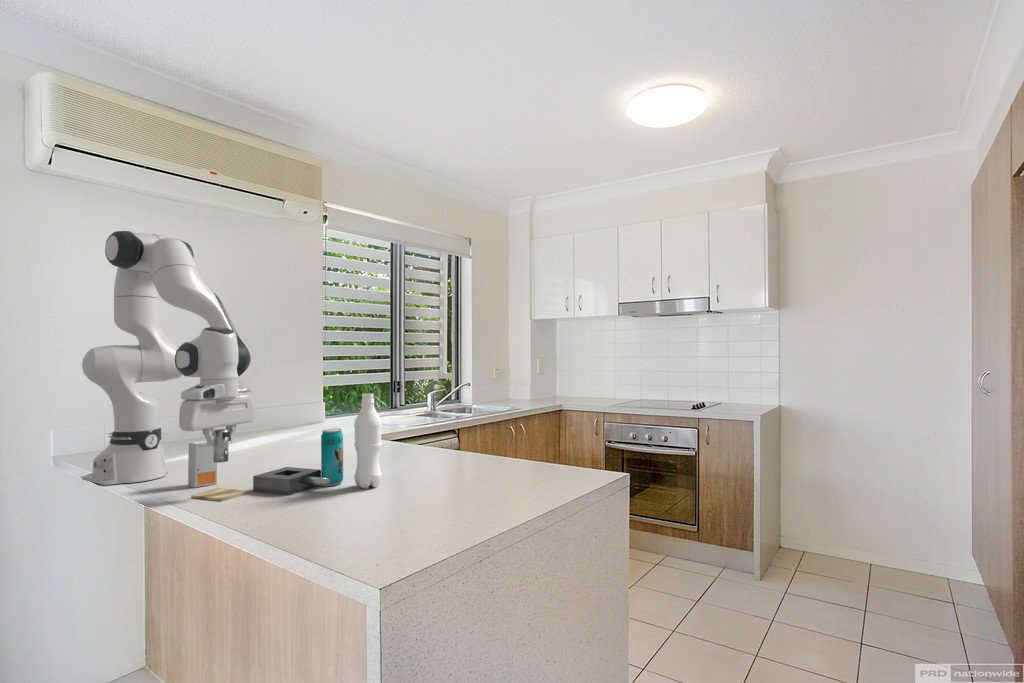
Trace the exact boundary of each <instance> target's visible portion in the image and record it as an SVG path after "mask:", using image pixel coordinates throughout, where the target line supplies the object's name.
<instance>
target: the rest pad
mask: <svg viewBox="0 0 1024 683" xmlns="http://www.w3.org/2000/svg"><path fill="white" fill-rule="evenodd" d="M246 494H248V490H243V489H241V490H240V489H230V488H222V487H217V488H214V489H210V490H205V491H202V492H199V493H195V494H192V495H191V497H190V498H191V499H199V500H207V501H208V500H209V501H214V502H215V501H216V502H222V501H226V500H230V499H232V498H235V497H239V496H242V495H246Z"/></svg>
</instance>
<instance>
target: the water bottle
mask: <svg viewBox="0 0 1024 683" xmlns="http://www.w3.org/2000/svg"><path fill="white" fill-rule="evenodd" d="M374 397H375V396H374V393H362V394H361V402H360V403H361V407H360V410H359V412H358V414H357V416H356V418H355V420H354V423H353V424H354V425H353V427H354V447H355V452H356V459H357V461H356V469H355V473H354V481H355V485H356V486H357V487H358V488H361V489H364V490H367V489H369V487H370V486H371V487H372V488H378V487H379V485H380V484H381V481H382V476H383V473H382V471H381V470H382V469H381V466H380V449H381V447H382V446H383V445H382V444H383V443H382V420H381V417H380V415H379V414H378V412H377V409H376V408H375V399H374Z"/></svg>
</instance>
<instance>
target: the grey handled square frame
mask: <svg viewBox="0 0 1024 683" xmlns="http://www.w3.org/2000/svg"><path fill="white" fill-rule="evenodd" d="M329 484H330V479H329V478H322V477H321V469H318V468H317V469H315V468H305V467H304V468H303V467H294V466H293V467H292V466H285V467H281V468H278V469H274V470H271V471H267V472H263V473H259V474H256V475H253V476H252V491H253V492H256V493H265V494H274V495H275V494H276V495H283V496H284V495H285V496H291V495H294V494H297V493H299V492H303V491H306V490H309V489H312V488H314V487H317V486H322V487H329V486H328V485H329Z"/></svg>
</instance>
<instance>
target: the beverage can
mask: <svg viewBox="0 0 1024 683" xmlns="http://www.w3.org/2000/svg"><path fill="white" fill-rule="evenodd" d="M342 430H343V429H342V428H336V427H335V428H326V429H322V430H321V431H322V433H321V435H320V442H321V443H320V445H321V446H320V449H321V452H320V455H321V458H320V459H321V460H320V463H321V464H320V465H321V468H320V470H321V477H322V478H329V479H330V484H329V485H328V486H327V487H336V486H340V485H341V484H342V482H343V479H344V434H343V432H342Z"/></svg>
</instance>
